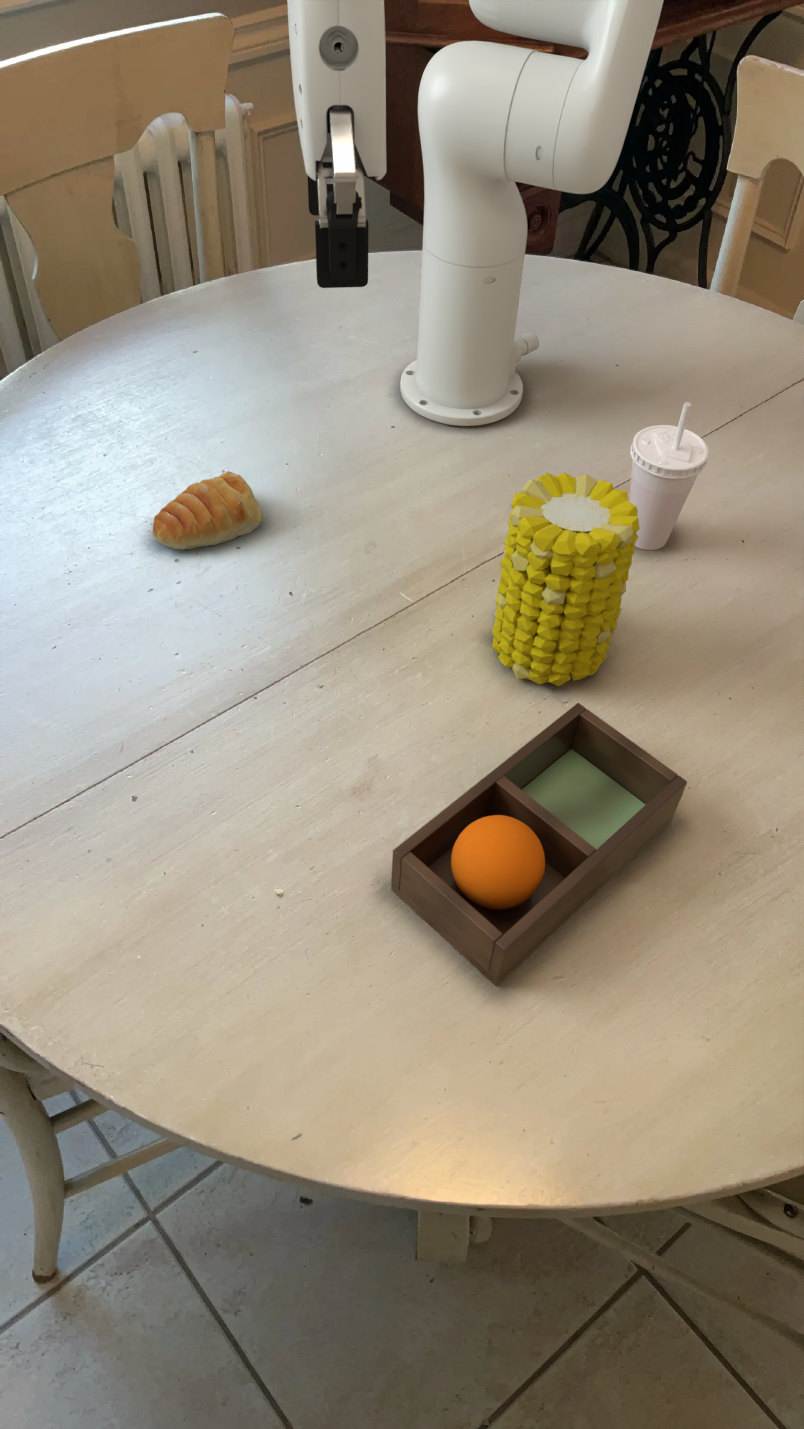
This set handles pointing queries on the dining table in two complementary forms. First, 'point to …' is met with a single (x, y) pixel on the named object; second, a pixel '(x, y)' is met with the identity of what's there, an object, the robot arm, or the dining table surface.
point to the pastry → (208, 513)
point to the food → (563, 577)
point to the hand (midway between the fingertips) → (337, 247)
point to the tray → (542, 836)
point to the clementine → (498, 862)
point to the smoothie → (663, 477)
